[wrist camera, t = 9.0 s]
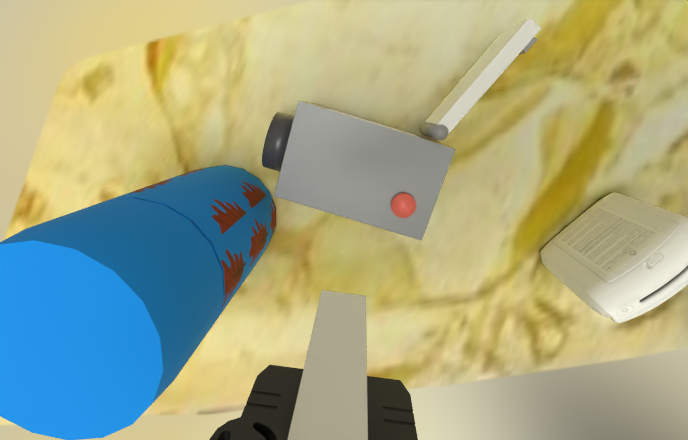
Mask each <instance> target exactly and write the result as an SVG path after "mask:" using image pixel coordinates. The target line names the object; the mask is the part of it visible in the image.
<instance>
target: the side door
mask: <svg viewBox="0 0 688 440" xmlns="http://www.w3.org/2000/svg"><path fill="white" fill-rule="evenodd" d="M540 29H541V27H540V26H539V25H538V24H537V23H535V22H534V21H533V20H532V19H531V18H530V17H529V18H528V19H526V20H524V21H522V22H521V23H519V24H517V25H515V26H514V27H512V28H510V29H508V30H507V31H505V32H503V33H501V34H499V35H498V37H497V38H496V39H495V40H494V41H493V42H492V44H491V45H490V46H489V47H488V48H487V49H486V51H485V52H484V53H483V54H482V55H481V57H480V58H479V59H478V60H477V61H476V62H475V64H474V65H473V66H472V67H471V68H470V69H469V71H468V72H467V73H466V74H465V75H464V76H463V78H462V79H461V80H460V81H459V82H458V83H457V85H456V86H455V87H454V88H453V89H452V90H451V92H450V93H449V94H448V95H447V96H446V97H445V99H444V100H443V101H442V102H441V103H440V104H439V106H438V107H437V108H436V109H435V110H434V111H433V113H432V114H431V115H430V116H429V117H428V118H427V120H426V121H425V123H423V124H422V125H421V127H420V130H421V132H422V133H423V134H424V135H427V136H430V137H432V138H435V139H438V140H443V139H445V138H446V137H447V135H448V134H449V133H450V132H451V130H452V129H453V128H454V127H455V126H456V125H457V124H458V123H459V121H460V120H461V119H462V118H463V117H464V116H465V115H466V113H467V112H468V111H469V110H470V109H471V108H472V107H473V105H474V104H475V103H476V102H477V101H478V100H479V99H480V98H481V96H482V95H483V94H484V93H485V92H486V91H487V90H488V88H489V87H490V86H491V85H492V84H493V83H494V82H495V80H496V79H497V78H498V77H499V76H500V75H501V74H502V73H503V71H504V70H505V69H506V68H507V67H508V66H509V65H510V63H511V62H512V61H513V60H514V59H515V58H516V57H517V56H518V55H520V54H523V53H526V52H527V51H528V50H529V49H530V47H531V46H532V45H533V44H534V43H535V42H536V41H537V39H536V38H535V37H534V36H535V35H536V34H537V33H538V32H539V31H540Z"/></svg>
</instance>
